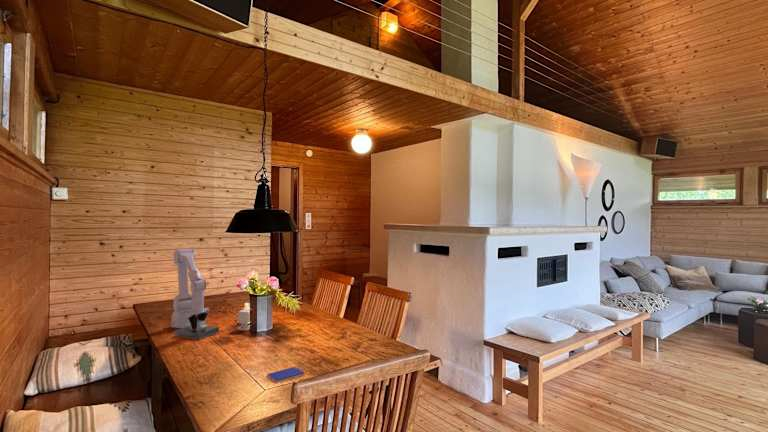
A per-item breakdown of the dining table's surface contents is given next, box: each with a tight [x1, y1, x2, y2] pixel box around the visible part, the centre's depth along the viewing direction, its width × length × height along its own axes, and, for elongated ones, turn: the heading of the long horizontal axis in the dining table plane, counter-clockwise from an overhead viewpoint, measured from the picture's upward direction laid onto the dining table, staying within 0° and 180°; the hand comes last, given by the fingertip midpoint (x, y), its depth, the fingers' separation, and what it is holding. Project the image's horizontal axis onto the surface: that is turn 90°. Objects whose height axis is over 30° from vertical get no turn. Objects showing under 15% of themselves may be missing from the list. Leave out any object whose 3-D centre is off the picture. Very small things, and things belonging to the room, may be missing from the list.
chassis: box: [174, 324, 220, 341], centre depth 210 cm, size 16×14×3 cm
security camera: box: [236, 308, 251, 331], centre depth 223 cm, size 6×7×10 cm
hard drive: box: [266, 366, 305, 383], centre depth 159 cm, size 2×8×12 cm
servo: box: [186, 320, 209, 331], centre depth 210 cm, size 11×4×6 cm, turn 71°
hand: (197, 327), depth 210 cm, fingers closed on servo, 4 cm apart
